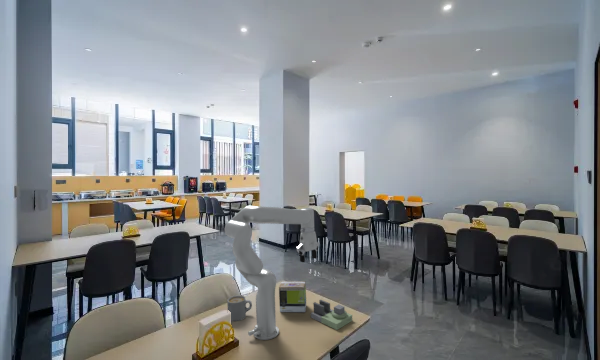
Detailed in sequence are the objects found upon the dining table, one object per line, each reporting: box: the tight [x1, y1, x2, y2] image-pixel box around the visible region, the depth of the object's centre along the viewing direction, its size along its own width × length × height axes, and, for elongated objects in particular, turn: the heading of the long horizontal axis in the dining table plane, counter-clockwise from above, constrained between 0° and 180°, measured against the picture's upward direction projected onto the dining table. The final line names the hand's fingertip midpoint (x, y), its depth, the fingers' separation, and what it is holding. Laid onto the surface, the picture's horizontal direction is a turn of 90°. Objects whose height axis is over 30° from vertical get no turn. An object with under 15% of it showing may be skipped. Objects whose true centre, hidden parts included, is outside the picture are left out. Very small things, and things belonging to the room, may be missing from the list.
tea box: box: [278, 280, 307, 313], centre depth 166 cm, size 15×10×15 cm, turn 84°
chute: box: [313, 299, 331, 316], centre depth 156 cm, size 6×7×7 cm
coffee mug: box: [226, 294, 253, 322], centre depth 158 cm, size 13×10×10 cm
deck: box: [310, 304, 353, 331], centre depth 152 cm, size 13×18×8 cm
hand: (308, 260), depth 160 cm, fingers open, 9 cm apart
